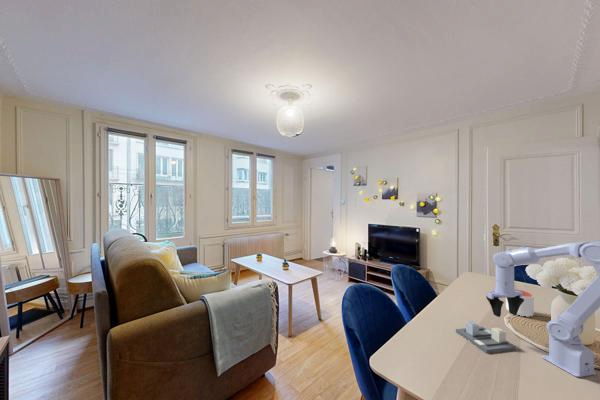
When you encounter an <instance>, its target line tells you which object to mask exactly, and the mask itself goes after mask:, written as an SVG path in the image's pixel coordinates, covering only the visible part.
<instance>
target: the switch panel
mask: <svg viewBox="0 0 600 400" xmlns="http://www.w3.org/2000/svg"><path fill="white" fill-rule="evenodd" d="M455 333H457V334H458V335H459V334H460V335H459V336H460V337H462V336H463V338H464V339H465V338H466V339H465V340H466V341H468V340H469V341H470V342H469V341H468V342H469V343H471V342H472V343H473V345H474V346H475V345H476V346H475V347H476V348H478V349H479V350H481V351H482V352H483V353H485V354H491V353H499V352H509V351H514V350H515V351H516V350H517V346H516V345H515V344H513V343H511V342H509V341H508V340H506V342H501V343H498V342H497V341H495V340H493V339H492V338H491V330H490V329H487V328H485V327H484V326H479V335H474V336H472V335H470V334H469V333H467V332H466V327H465V328H456V329H455ZM472 343H471V344H472Z"/></svg>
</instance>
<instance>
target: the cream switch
mask: <svg viewBox="0 0 600 400" xmlns="http://www.w3.org/2000/svg"><path fill="white" fill-rule="evenodd" d="M490 331H491V338H492V339H493V340H495V341H497V342H498V343H501V342H506V341H507V339H506V338H507V335H506V334H507V332H506V330H504V329H501V328H500V327H498V326H497V327H491V330H490Z"/></svg>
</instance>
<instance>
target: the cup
mask: <svg viewBox="0 0 600 400" xmlns="http://www.w3.org/2000/svg"><path fill="white" fill-rule="evenodd" d="M514 290H518V291H520V292H522V295H523V297H520V298H523V299H524V302H523V303H522V304H521V305H520V307H519V309H518V312H517V315H516V316H518V315H520V317H523V316H526V317H525V318H530V316H531V317H533V316H534V315H535V314H534V313H535V312H534V311H535V310H534V309H535V308H534V307H535V297H534V294H532V293H530V292H528V291H525V290H520V289H515V288H514ZM505 308H506V310H507V312H509V305H508V300H507V297H505Z"/></svg>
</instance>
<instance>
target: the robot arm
mask: <svg viewBox="0 0 600 400" xmlns="http://www.w3.org/2000/svg"><path fill="white" fill-rule="evenodd" d="M559 256H570V257H574V258H578V259H579V258H583V260H585V261H586V262H587V263H589V264H590V265H591V266H592V267H593V269H594V271H595V272H596V274H597V276H596V277H595V278H594V279H593V280H592V281H591V282H590V284H589V285H588V286H587V287H586V288H585V289H584V290H583V291H582V292H581V293H580V295H578V297H577V298H576V299H574V301H573V302H572V303H571V304H570V306H568V307H567V309H566V310H565V311H563V312H562V313H561V315H558V316H557V317H556V318H555V319H554V318H553V319H551V320H549V321H548V322H547V323H546V331H547V332H548V354H545V355H541V358H542V359H544V360H546V361H547V362H549V363H550V364H553V365H554V366H556V367H558V368H560V369H561V370H563V371H565V372H566V373H568V374H570V375H572V376H574V377H576V378H582V377H588V376H595V375H597V373H596V372H595V354H594V352H593V350H591V349H590V348H588V347H587V346H586V345H584V344H583V343H582V340H581V338H580V336H579V335H581V334H582V333H583V331H584V325H585V324H586V323H587V321H588V320H589V319H590V318H591V317H592V316H593V315H594V314H595V312H596V311H598V310H599V308H600V240H595V241H592V242H590V241H579V242H578V241H577V242H570V243H563V244H560V245H559V244H558V245H554V246H548V247H543V248H539V249H535V248H534V247H532V246H528V247H527V246H526V245H524V246H520V247H519V248H516V249H510V248H509V249H506V250H505V251H498V252H496V253H494V254H493V256H492V261H493V264H495V268H494V269H495V274H494V275H495V288H493V290H492V291H488V292H487V293H486V299H487V301H488V302H489V305H490V307H491V309H492V312H493V315H494V316H495V317H498V318H501V315H502V308H503V304H504V303H505V301H503V300H501V298H503V299H504V298H506V297H507V300H508V305H509V311H508V312H509V314H511V315H513V316H518V315H517V312H518V309H519V307H520V305H521V304H522V303H523V302H524V299H523V298H520V297H523V295H522V292H520V291H518V290H519V289H516V290H514V289H515V266H519V265H520V266H521V265H527V264H535V263H538V262H539V261H540V259H543V258H549V257H550V258H552V257H559Z"/></svg>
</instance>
